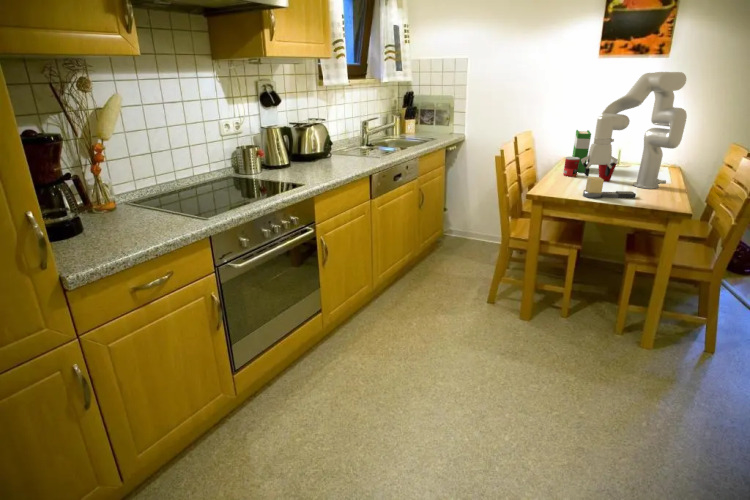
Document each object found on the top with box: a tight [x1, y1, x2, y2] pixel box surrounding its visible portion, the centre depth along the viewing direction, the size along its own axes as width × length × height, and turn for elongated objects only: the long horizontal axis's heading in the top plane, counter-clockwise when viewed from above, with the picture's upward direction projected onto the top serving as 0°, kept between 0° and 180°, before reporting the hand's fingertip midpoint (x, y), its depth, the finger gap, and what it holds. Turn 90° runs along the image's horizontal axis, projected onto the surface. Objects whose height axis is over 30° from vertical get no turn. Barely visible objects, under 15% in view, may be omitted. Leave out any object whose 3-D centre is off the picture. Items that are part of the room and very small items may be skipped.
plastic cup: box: [597, 159, 619, 183], centre depth 262 cm, size 11×11×12 cm
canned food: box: [562, 156, 580, 178], centre depth 275 cm, size 8×8×11 cm
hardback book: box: [571, 129, 592, 174], centre depth 288 cm, size 18×7×24 cm, turn 161°
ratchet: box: [582, 189, 637, 200], centre depth 231 cm, size 24×9×6 cm, turn 83°
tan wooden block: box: [585, 176, 604, 193], centre depth 231 cm, size 6×6×7 cm
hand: (596, 175), depth 230 cm, fingers open, 9 cm apart
